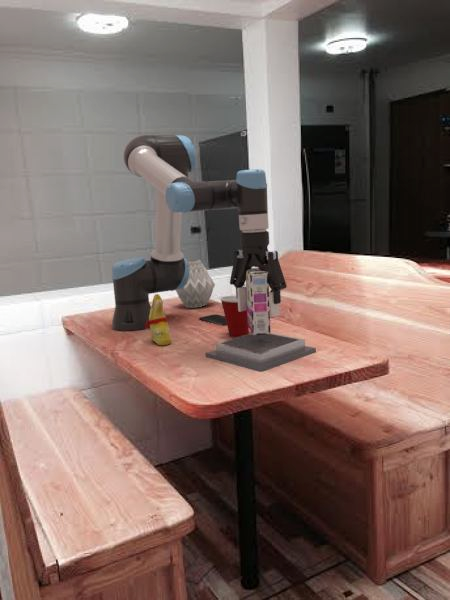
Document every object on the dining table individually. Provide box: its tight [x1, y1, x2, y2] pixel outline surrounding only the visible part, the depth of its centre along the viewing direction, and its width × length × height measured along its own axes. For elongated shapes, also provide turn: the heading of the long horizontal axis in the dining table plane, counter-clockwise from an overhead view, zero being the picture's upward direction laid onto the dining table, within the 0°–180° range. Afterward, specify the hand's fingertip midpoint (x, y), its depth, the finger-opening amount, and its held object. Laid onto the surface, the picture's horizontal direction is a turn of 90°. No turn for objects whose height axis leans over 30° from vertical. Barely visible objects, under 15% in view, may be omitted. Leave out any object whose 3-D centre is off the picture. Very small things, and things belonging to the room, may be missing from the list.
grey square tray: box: [205, 332, 317, 372], centre depth 144 cm, size 21×21×4 cm
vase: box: [175, 259, 216, 309], centre depth 214 cm, size 16×16×18 cm
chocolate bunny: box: [145, 293, 172, 346], centre depth 162 cm, size 7×11×15 cm, turn 25°
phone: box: [198, 313, 227, 327], centre depth 187 cm, size 8×1×15 cm
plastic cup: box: [219, 295, 250, 338], centre depth 165 cm, size 11×11×12 cm
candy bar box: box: [245, 267, 272, 335], centre depth 142 cm, size 11×5×16 cm, turn 5°
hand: (258, 313), depth 142 cm, fingers closed on candy bar box, 11 cm apart
